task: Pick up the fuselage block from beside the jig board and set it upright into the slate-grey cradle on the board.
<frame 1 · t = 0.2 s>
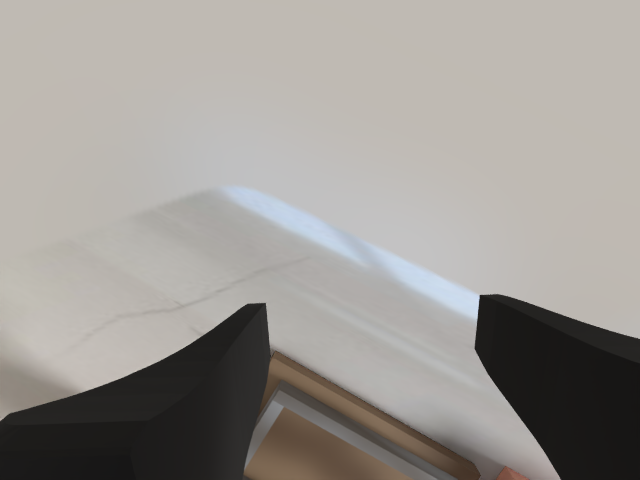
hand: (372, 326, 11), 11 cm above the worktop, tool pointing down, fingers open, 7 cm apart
cradle: (338, 465, 23), on the worktop
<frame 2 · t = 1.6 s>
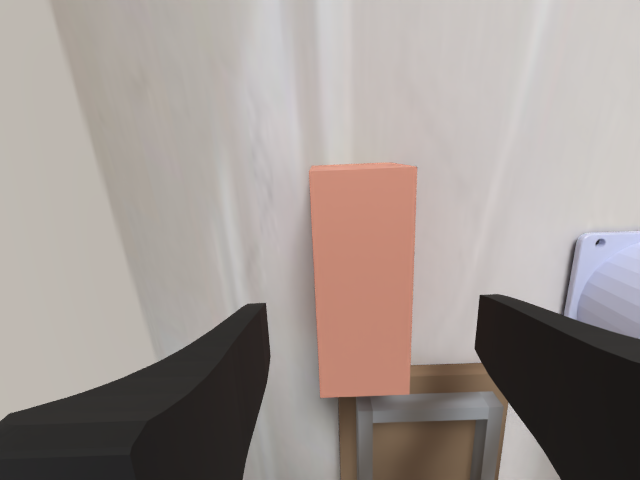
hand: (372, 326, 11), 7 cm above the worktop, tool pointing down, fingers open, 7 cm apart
cradle: (415, 468, 22), on the worktop
fuselage block: (352, 256, 18), on the worktop
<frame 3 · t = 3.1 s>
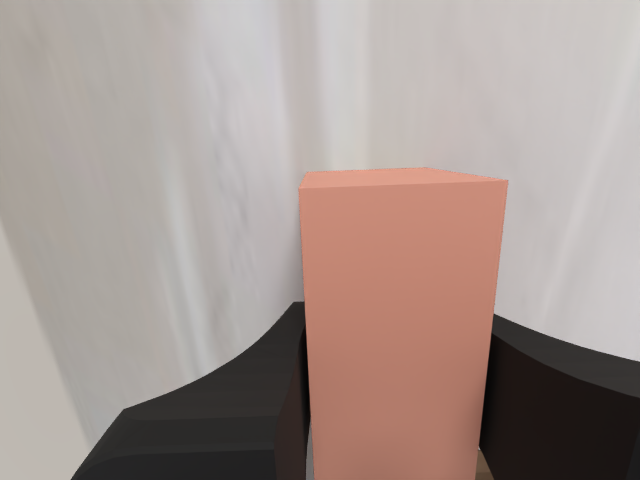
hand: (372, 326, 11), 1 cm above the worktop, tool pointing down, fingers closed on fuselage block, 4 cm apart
fuselage block: (366, 304, 12), on the worktop, touching gripper
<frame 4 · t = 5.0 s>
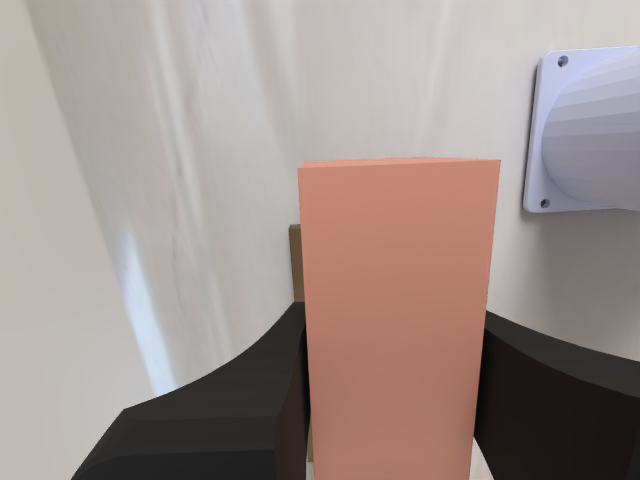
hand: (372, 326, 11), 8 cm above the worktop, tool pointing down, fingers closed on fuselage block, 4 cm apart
cradle: (379, 343, 21), on the worktop
fuselage block: (364, 293, 13), point 7 cm above the worktop, touching gripper
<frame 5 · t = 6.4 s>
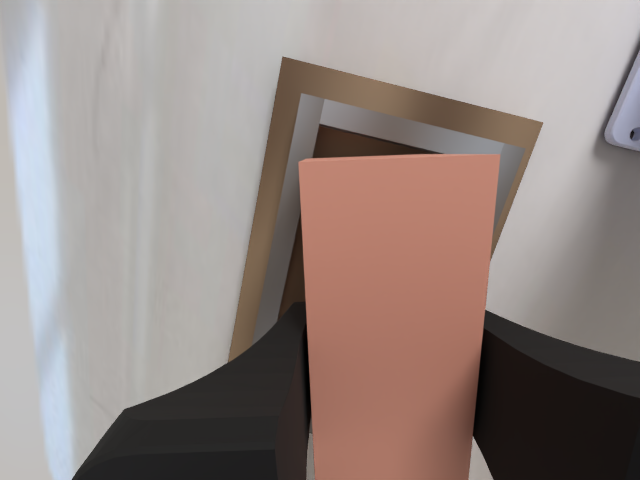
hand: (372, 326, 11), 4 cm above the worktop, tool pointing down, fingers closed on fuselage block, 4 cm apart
cradle: (358, 278, 15), on the worktop
fuselage block: (364, 290, 13), point 2 cm above the worktop, touching gripper
when the fingers open (3 cm above the worktop, at t = 7.0 s): fuselage block stays where it is, resting on cradle.
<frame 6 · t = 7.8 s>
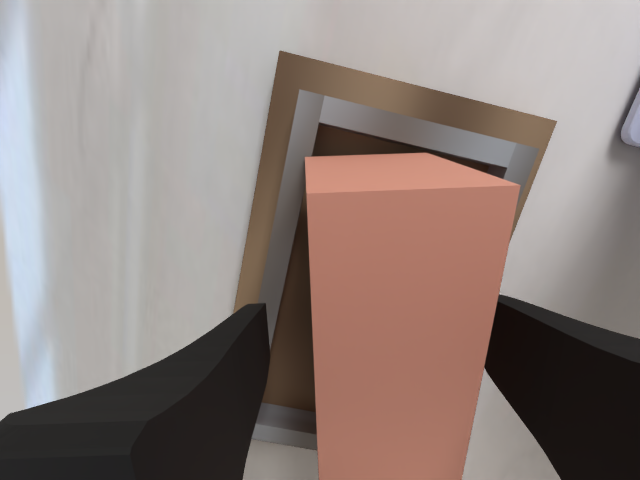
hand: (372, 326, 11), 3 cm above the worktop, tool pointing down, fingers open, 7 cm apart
cradle: (359, 285, 14), on the worktop
fuselage block: (362, 288, 13), point 2 cm above the worktop, tilted 7°, touching cradle
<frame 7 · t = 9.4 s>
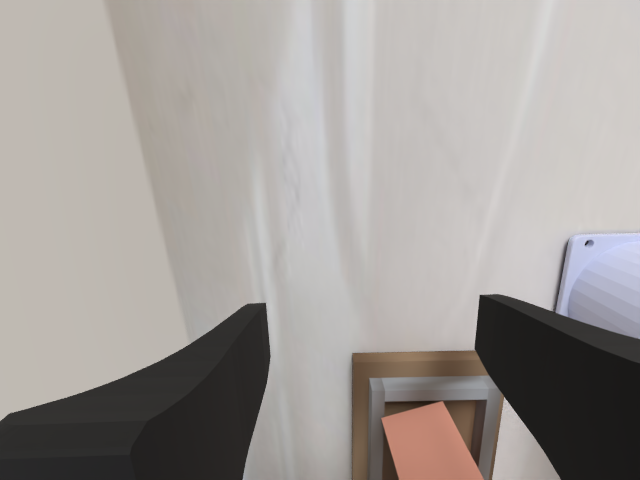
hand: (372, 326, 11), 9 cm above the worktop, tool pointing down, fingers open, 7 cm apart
cradle: (420, 446, 24), on the worktop
fuselage block: (424, 461, 22), point 2 cm above the worktop, tilted 7°, touching cradle
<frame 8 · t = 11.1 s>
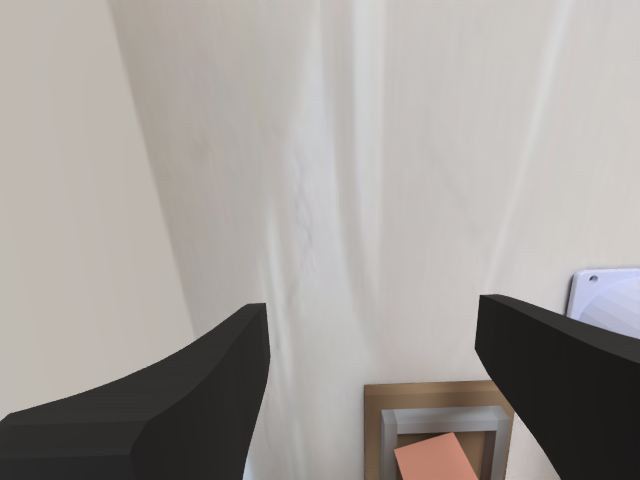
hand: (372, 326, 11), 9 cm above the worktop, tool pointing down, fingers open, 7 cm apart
cradle: (430, 472, 25), on the worktop
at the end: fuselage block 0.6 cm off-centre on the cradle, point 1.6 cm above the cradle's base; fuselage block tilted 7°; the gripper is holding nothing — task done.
